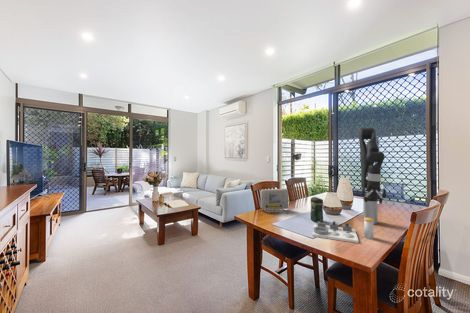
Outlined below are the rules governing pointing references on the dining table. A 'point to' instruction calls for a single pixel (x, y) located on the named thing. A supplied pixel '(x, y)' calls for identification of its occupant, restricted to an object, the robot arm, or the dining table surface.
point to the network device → (274, 199)
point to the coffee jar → (316, 209)
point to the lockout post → (369, 228)
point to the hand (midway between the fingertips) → (372, 202)
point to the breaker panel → (335, 232)
